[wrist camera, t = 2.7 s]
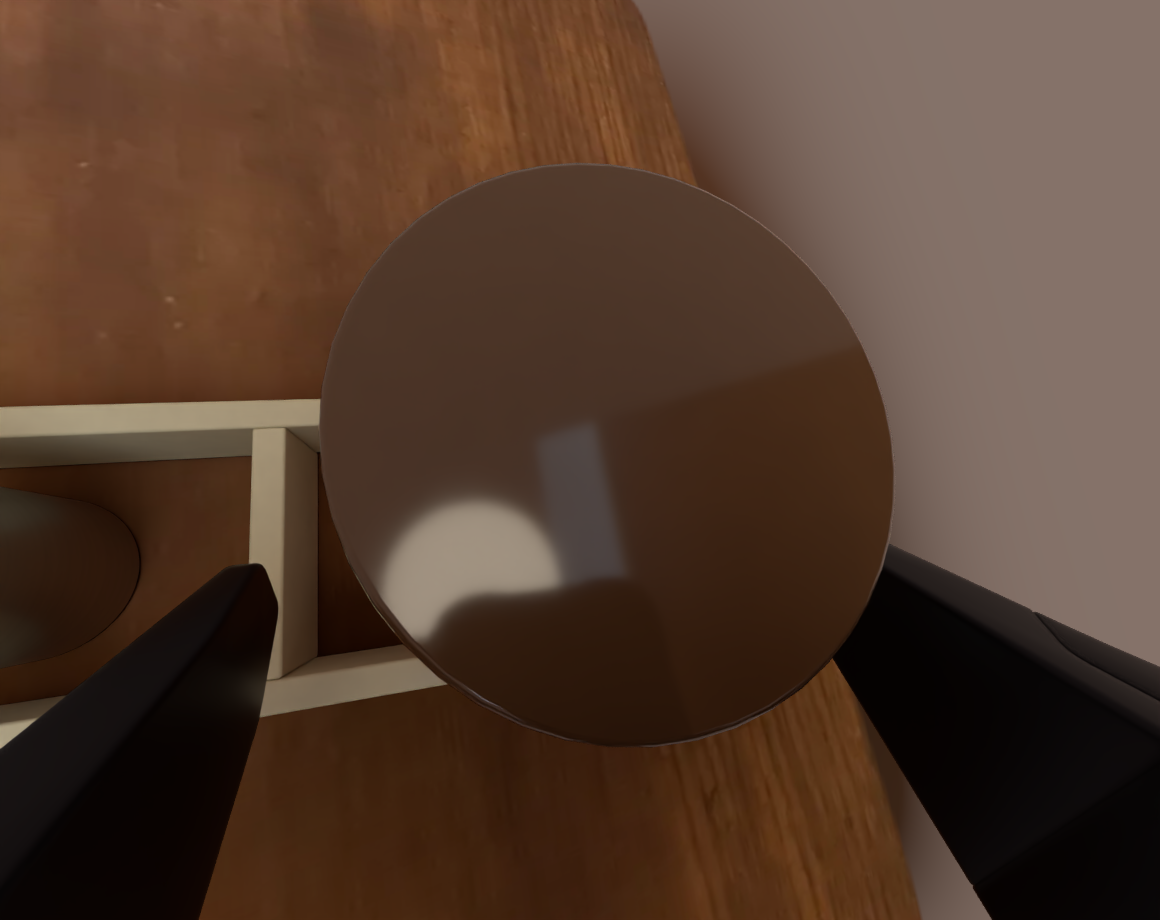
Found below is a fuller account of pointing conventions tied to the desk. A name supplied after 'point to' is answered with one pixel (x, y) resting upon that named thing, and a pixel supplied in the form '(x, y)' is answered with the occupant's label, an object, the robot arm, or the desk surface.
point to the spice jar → (606, 455)
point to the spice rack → (277, 526)
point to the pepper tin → (59, 574)
